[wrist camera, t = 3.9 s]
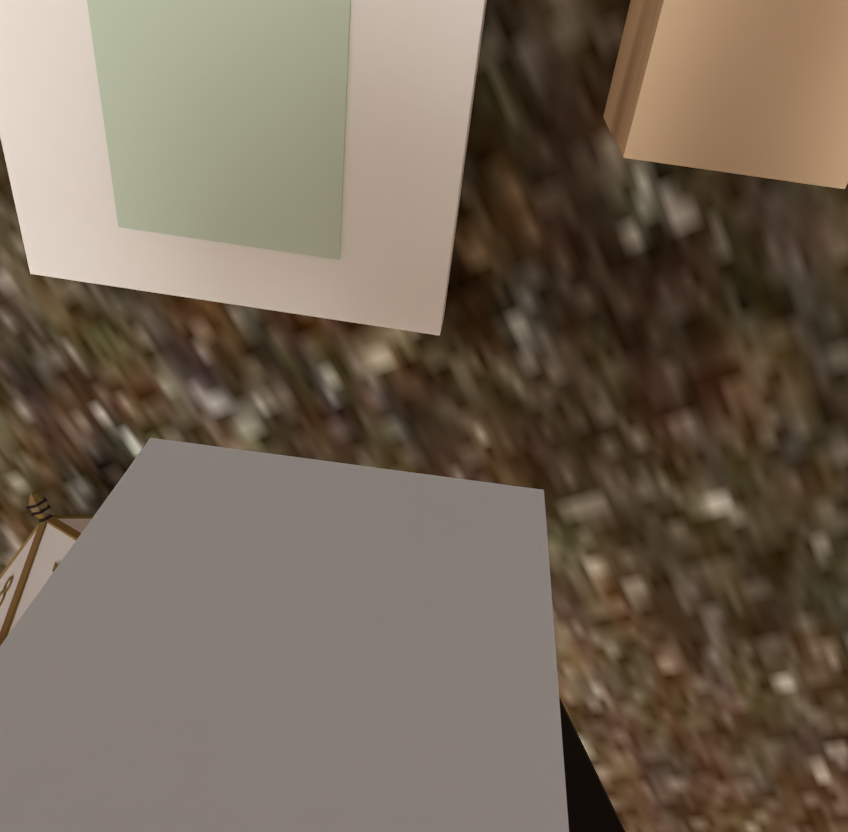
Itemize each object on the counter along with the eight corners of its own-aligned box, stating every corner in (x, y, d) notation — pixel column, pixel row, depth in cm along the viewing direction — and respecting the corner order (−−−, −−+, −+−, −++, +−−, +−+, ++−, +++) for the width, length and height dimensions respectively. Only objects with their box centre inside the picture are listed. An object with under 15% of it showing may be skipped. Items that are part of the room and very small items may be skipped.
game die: (197, 512, 30) (36, 742, 26) (42, 395, 23) (-200, 677, 20) (355, 588, 25) (183, 887, 21) (212, 465, 18) (-71, 863, 15)
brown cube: (857, -73, 14) (964, -82, 10) (778, 140, 16) (844, 188, 13) (653, -99, 14) (693, -117, 11) (602, 116, 16) (623, 157, 13)
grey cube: (544, 489, 9) (579, 980, 5) (487, 721, 12) (478, 1154, 7) (150, 437, 9) (-161, 866, 5) (188, 679, 12) (14, 1080, 8)
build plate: (498, -87, 14) (496, -91, 13) (444, 315, 19) (439, 337, 18) (-25, -154, 15) (-70, -163, 14) (55, 257, 20) (27, 275, 19)
